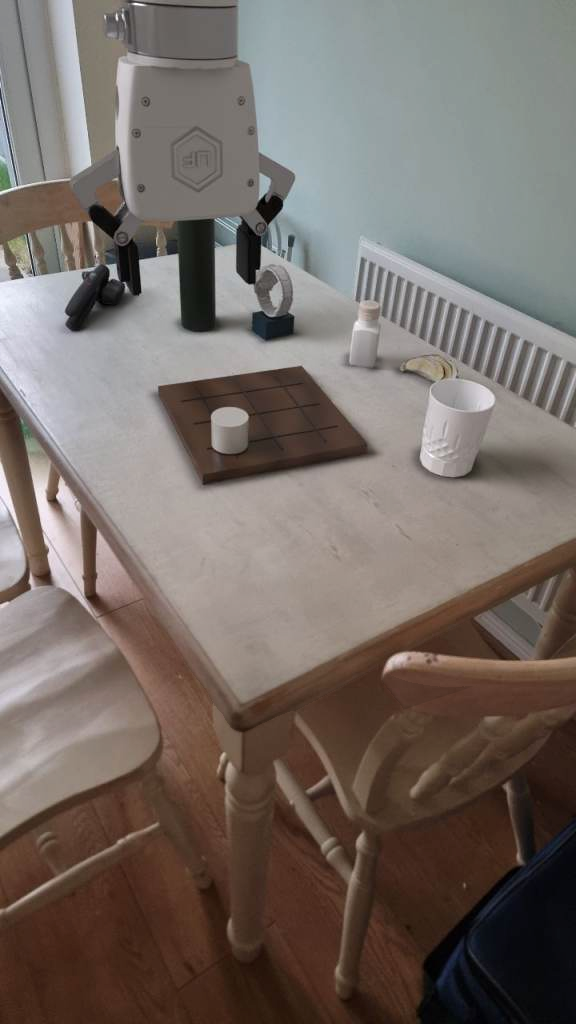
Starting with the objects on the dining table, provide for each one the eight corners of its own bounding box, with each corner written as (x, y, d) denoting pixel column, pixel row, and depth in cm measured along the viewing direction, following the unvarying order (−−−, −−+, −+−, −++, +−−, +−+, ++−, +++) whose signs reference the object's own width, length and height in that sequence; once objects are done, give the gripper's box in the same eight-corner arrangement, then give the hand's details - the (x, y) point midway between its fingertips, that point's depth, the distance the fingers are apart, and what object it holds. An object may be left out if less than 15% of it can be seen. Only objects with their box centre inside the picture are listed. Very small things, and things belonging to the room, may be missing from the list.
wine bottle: (200, 314, 120) (195, 118, 101) (222, 325, 117) (221, 126, 98) (174, 323, 117) (164, 122, 98) (196, 334, 114) (190, 130, 95)
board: (202, 484, 83) (202, 473, 82) (158, 395, 98) (157, 385, 97) (366, 453, 90) (367, 442, 89) (300, 374, 105) (301, 364, 104)
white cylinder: (217, 457, 85) (217, 429, 82) (206, 437, 88) (206, 409, 85) (253, 450, 86) (254, 423, 84) (241, 431, 89) (241, 404, 87)
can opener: (94, 289, 126) (90, 258, 123) (130, 294, 125) (127, 262, 122) (49, 329, 113) (43, 295, 109) (89, 335, 112) (85, 301, 108)
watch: (273, 319, 120) (275, 255, 113) (299, 338, 115) (304, 272, 108) (245, 326, 118) (246, 261, 111) (271, 345, 113) (273, 278, 106)
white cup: (439, 438, 94) (454, 372, 87) (488, 464, 90) (508, 397, 83) (402, 460, 89) (416, 391, 83) (453, 488, 85) (471, 419, 79)
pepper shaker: (373, 369, 108) (382, 311, 102) (348, 366, 108) (355, 307, 102) (376, 358, 111) (384, 301, 105) (351, 354, 111) (358, 297, 105)
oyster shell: (410, 402, 109) (467, 390, 102) (396, 395, 107) (453, 382, 100) (412, 366, 110) (468, 352, 103) (398, 358, 108) (455, 343, 101)
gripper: (58, 40, 41) (93, 313, 52) (321, 46, 47) (303, 291, 58) (42, 26, 47) (77, 276, 58) (280, 32, 52) (271, 260, 63)
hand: (191, 284), depth 58 cm, fingers open, 9 cm apart
